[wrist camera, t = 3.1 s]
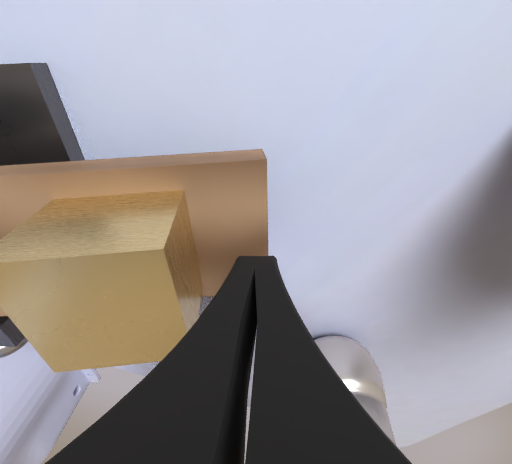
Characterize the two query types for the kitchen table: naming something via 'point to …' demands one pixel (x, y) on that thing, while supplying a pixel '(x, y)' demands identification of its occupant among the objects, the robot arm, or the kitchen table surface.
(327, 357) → the plastic bottle
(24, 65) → the pivot stand
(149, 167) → the balance beam
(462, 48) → the kitchen table surface
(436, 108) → the kitchen table surface
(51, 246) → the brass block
